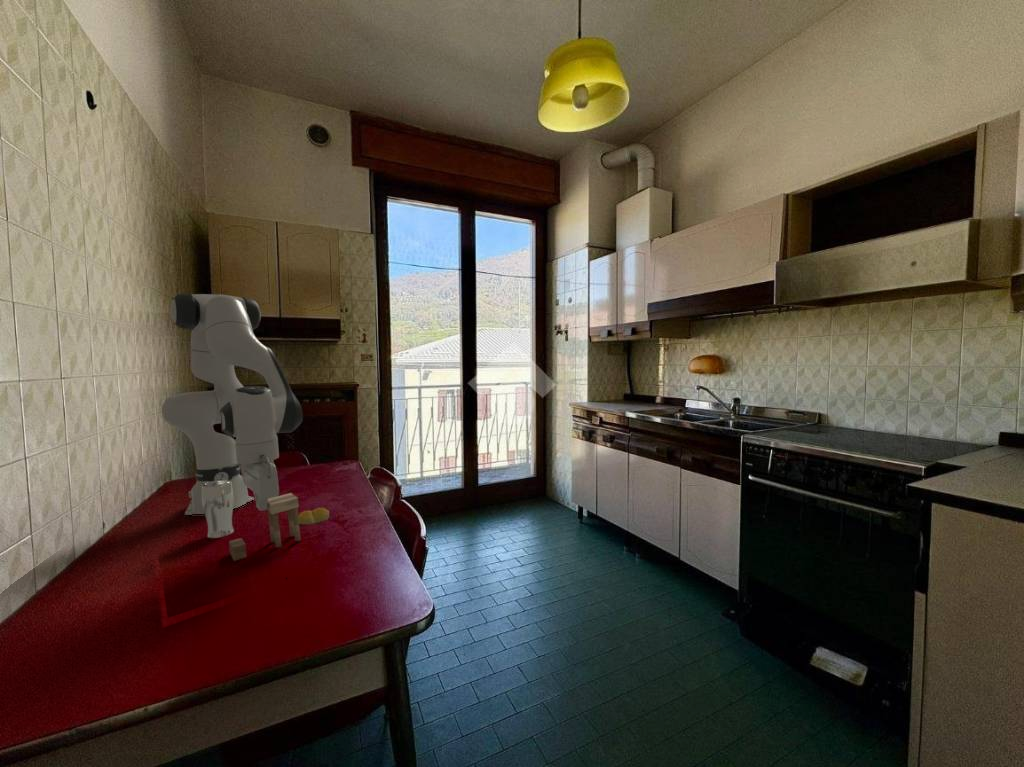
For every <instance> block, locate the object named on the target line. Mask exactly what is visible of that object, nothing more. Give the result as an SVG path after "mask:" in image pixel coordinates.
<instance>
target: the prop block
mask: <svg viewBox="0 0 1024 767" xmlns="http://www.w3.org/2000/svg"><path fill="white" fill-rule="evenodd" d="M228 543H229V544H228V545H229V555H230V556H231V558H232V560H233V561H238V560H241V559H245V558H247V546H246V543H245V541H244V540H243V538H241V537H240V538H236V539H232V540H229V542H228Z"/></svg>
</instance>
